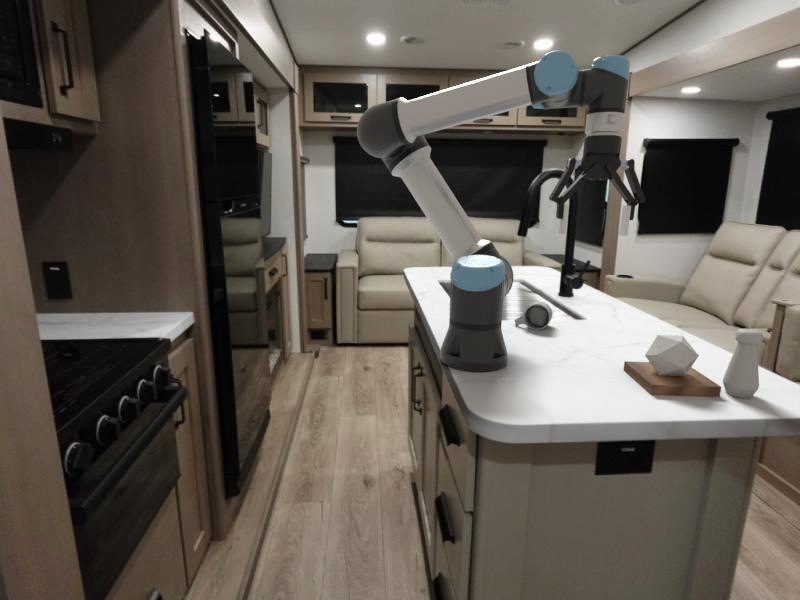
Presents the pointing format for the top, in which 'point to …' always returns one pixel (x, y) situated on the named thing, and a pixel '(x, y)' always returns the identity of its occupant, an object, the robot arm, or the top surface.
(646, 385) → the walnut board
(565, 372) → the top surface
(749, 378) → the salt shaker
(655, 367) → the die
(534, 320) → the ceramic mug
